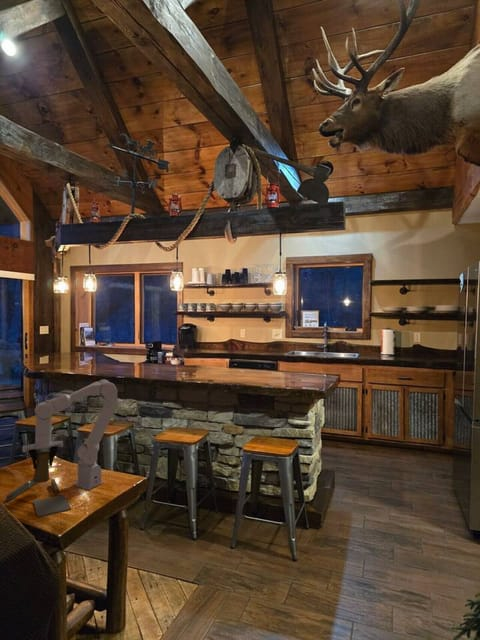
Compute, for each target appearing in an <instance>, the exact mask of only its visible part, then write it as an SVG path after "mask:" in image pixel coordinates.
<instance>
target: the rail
mask: <svg viewBox="0 0 480 640" xmlns="http://www.w3.org/2000/svg"><path fill="white" fill-rule="evenodd" d="M50 486H51V487H52V491H53V493H54V495H55V497H56V496H60V488H59V487H58V484H57V482H56V479H55V478H53V479H52V478H51V479H50Z"/></svg>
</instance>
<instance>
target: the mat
mask: <svg viewBox="0 0 480 640" xmlns="http://www.w3.org/2000/svg"><path fill="white" fill-rule="evenodd" d="M32 502H33V503H32V504H33V506H34V509H35V513H36V516H37V518H39V517H45V516H49V515H54V514H58V512H59V513H62V512H67V511H71V510H72V508H71V505H70V503H69V500H67V497H66V495H65V494H60V495H59V496H56V495H55V496H52V497H51V496H50V497H47V498H41V499H36V500H33V501H32Z"/></svg>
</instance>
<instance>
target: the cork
mask: <svg viewBox="0 0 480 640" xmlns="http://www.w3.org/2000/svg"><path fill="white" fill-rule="evenodd" d="M49 459H50V451H43V450H42V451H39V452H36V469H34V474H33V478H32V479H33V482H36V484H38V483H39V484H40V483H46V482H48V481H50V468H49V467H50V465H49Z"/></svg>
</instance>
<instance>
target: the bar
mask: <svg viewBox="0 0 480 640" xmlns="http://www.w3.org/2000/svg"><path fill="white" fill-rule="evenodd" d="M35 484H37V483H36V482H33V478H32V479H30V480H26V481H24V484H22V485H21V486H19V487H17V488H15V489H14V490H13V491H11V492H10V493H8V494H6V496H5V501H6V502H11V500H13V499H14V498H16V497H18V496H19V495H20V494H23V492H25V491H27V490H28V489H30V488H31V487H32V486H34V485H35Z"/></svg>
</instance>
